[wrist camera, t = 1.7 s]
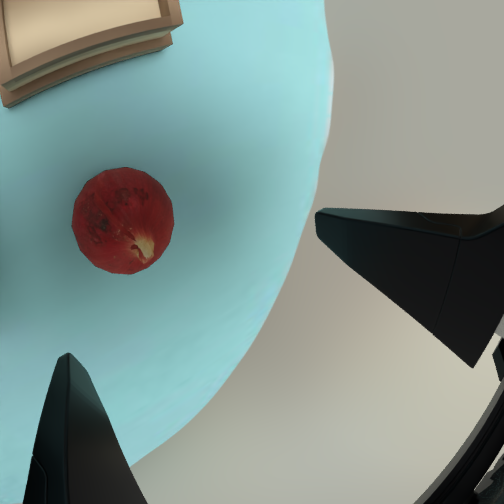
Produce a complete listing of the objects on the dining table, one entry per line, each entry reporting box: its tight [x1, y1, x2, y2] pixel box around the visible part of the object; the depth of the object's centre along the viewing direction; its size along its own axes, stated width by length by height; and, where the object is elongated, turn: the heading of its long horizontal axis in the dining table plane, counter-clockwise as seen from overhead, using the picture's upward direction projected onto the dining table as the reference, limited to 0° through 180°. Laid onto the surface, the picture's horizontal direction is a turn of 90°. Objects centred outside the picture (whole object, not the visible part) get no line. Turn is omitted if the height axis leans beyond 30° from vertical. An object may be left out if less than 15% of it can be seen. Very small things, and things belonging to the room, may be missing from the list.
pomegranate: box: [72, 167, 174, 274], centre depth 15 cm, size 6×6×8 cm
